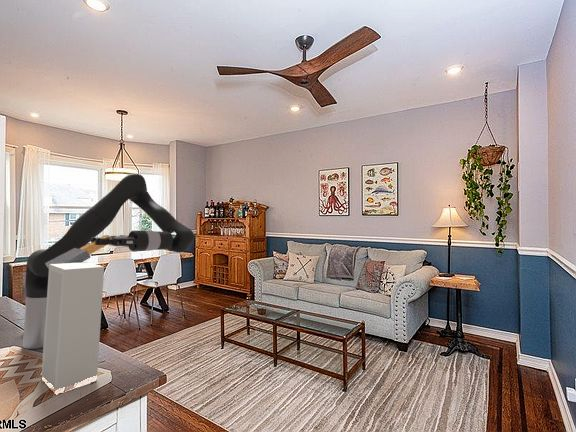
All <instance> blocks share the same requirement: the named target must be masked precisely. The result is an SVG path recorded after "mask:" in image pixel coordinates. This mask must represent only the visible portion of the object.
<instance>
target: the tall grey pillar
mask: <svg viewBox="0 0 576 432" xmlns="http://www.w3.org/2000/svg"><path fill="white" fill-rule="evenodd" d="M104 274H105V266H103V265H99V264H96V263H91V262H90V261H89V262H88V261H83V262H80V263H63V264H49V276H48V290H47V304H46V318H45V333H44V347H42V349H43V350H42V363H41V364H42V365H41V375H42V376H43V377H44V378H45V379H46V380H47V381H48V382H49V383H51V384H52V385H53V387H54V388H55V389H56V390H57V389H59V388H63V387H67V386H70V385H73V384H75V383H78V382H81V381H83V380H85V379H87V378H90V377H93V376H96V375H97V376H98V371H99V370H98V367H99V366H98V365H99V354H100V353H99V351H100V337H101V323H102V320H101V319H102V309H103V308H102V305H103V291H104V277H105V276H104Z"/></svg>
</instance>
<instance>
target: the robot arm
mask: <svg viewBox="0 0 576 432" xmlns="http://www.w3.org/2000/svg"><path fill="white" fill-rule="evenodd" d="M128 200H130V201H131V202H132V203H133V204H135V205H136V206H138V208H140V209H141V210H142V211H143V212H144V213H145V214H146V215H147V216H148V217H149V218H150V219H151V220H152V221H153V223H154V224H156V226H158V228H159V229H160V230H161V231H154V230H131V231H130V232H129V234H128V235H125V234H120V235H110V238H101V237H97V236H98V235H99V234H101V233H102V232H103V231H104V230H105V229H106V228H107V227H109V226H110V225H111V223H112V222H113V221H114V220H115V218H116V216H117V214H118V213H119V212H120V210H121V208H122V206H123V205H124V204H125V203H126V202H127V201H128ZM173 233H175V236H174V235H173ZM173 236H174V237H173ZM95 240H96V242H95V244H96V245H106V246H111V247H112V246H113V247H122V248H128V249H129V251H131V252H142V251H143V252H145V251H147V252H148V251H155V250H156V251H158V250H159V251H160V250H166V251H170V252H174V253H183V252H185V251H187V250H188V248H189V247H190V246H191V245H192V243H193V241H194V240H195V233H194V232H193V230H192V229H191V228H189V227H187V226H185V225H184V224H183V223H181V222H179V221H177V219H176V218H175V217H174V216H173V215H172V214H171V213H170V212H169V211H168V210H167V209H165V208H164V207H162V206H161V205H159V204H158V203H157V202H156V201H155V200H154V199H153V198H152V197H151V194H149V191H148V188H147V182H146V179H145V178H144V176H143V175H142V174H140V173H130V174H127V175H126V176H124V177H123V178H122V179H121V180H120V181H119V182H118V183H117V184H116V185H115V186H114V187H113V188H112V189H111V190H110V192H108V193H107V194H106V195H104V196H103V197H102V198H101V199H99V200H98V202H96V203H95V204H94V205H93V206H91V207H90V208H89V209H87V210H86V211H85V212H84V213H83V214H81V215H80V216H79V217H78V218H77V219H76V220H75V221H74V222H73V224H72V225H71V226H70V227H69V229H68V230H67V231H66V232H65V234H64V235H63V236H62V237H61V238H60V239H59V240H57V241H56V242H55V243H54V244H52V245H51V246H49V247H48V248H43V249H42V248H41V249H38V250H35V251H34V252H32V253H31V254H30V255H29V256H28V258H27V260H26V267H25V268H26V269H25V290H26V291H25V293H26V294H25V308H24V320H23V334H22V335H23V336H22V348H23V349H28V350H34V349H35V350H36V349H41V348H42V349H43V347H44V333H45V318H46V304H47V290H48V276H49V269H48V267H47V266H46V264H45V263H46V262H48V261H50V260H52V259H54V258H56V257H58V256H60V255H62V254H64V253H66V252H68V251H70V250H72V249H74V248H77V249H79V248H81V247H83V246H85V245H87V244H89V243H91V242H93V241H95Z"/></svg>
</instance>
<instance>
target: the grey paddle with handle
mask: <svg viewBox="0 0 576 432" xmlns="http://www.w3.org/2000/svg"><path fill="white" fill-rule="evenodd" d="M110 237H111V235H108V234H105V235H103V236H100V238H110ZM95 242H96V240H95V241H93V242H91V241H90V242H89V243H88V244H87V245H85V246H83V247H81V248H79V249H77V248H74V249H72V250H70V251H68V252H66V253H64V254H62V255H60V256H58V257H56V258H54V259H52V260H50V261H48V262H46V263H45V264H46V266H47V267H48V269H49V264H63V263H80V262H86V261H87V260H89V259H90V258H91V256H90V255H91V254H94V253H96V252H97V251H99V250H101V249H102V248H105V247H106V246H107V245H96V244H95Z"/></svg>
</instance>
